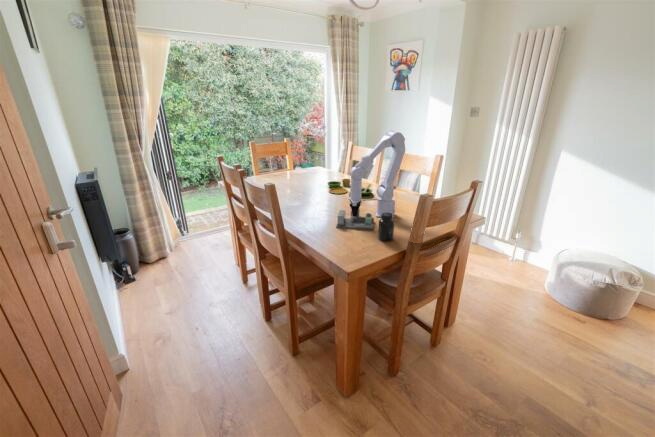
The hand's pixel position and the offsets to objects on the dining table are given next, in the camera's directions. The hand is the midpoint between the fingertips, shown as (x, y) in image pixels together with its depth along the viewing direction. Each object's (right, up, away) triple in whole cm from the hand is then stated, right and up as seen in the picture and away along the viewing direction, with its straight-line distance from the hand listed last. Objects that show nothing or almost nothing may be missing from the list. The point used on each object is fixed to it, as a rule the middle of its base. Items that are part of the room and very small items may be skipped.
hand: (355, 214), depth 159 cm
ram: (+6, -5, -11) cm, 13 cm away
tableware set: (0, +15, +43) cm, 45 cm away
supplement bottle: (+11, -12, -24) cm, 29 cm away
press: (-1, -5, -9) cm, 11 cm away
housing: (0, -1, 0) cm, 1 cm away
